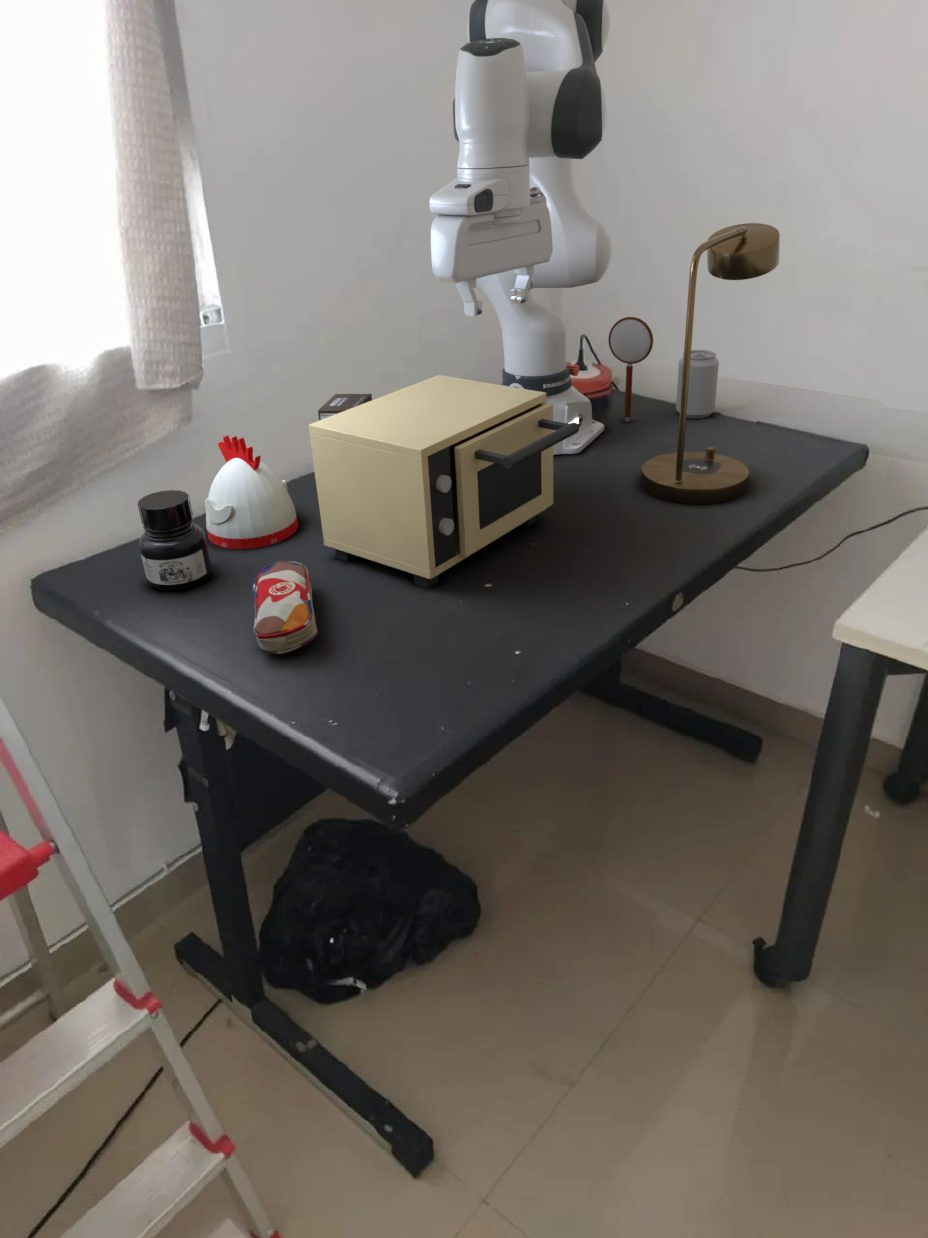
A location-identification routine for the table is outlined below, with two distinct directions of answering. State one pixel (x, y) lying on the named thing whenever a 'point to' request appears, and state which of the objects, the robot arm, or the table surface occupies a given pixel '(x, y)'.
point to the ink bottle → (172, 542)
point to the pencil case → (283, 607)
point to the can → (699, 383)
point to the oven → (405, 470)
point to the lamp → (689, 472)
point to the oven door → (506, 476)
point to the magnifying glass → (630, 349)
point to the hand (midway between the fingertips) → (496, 308)
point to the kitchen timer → (247, 501)
